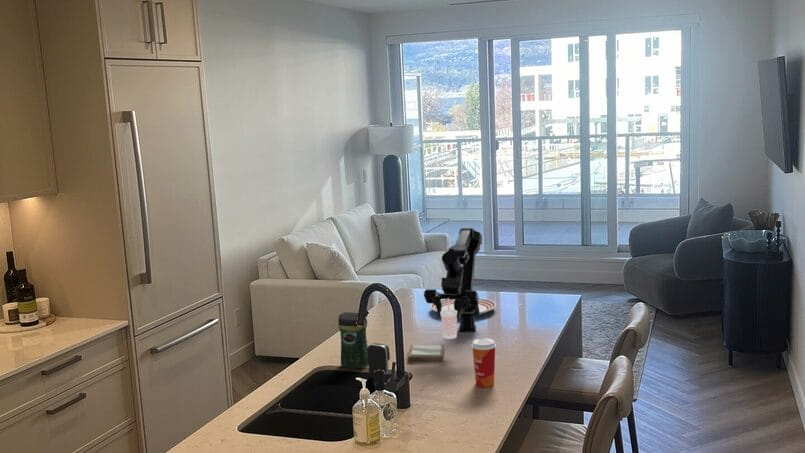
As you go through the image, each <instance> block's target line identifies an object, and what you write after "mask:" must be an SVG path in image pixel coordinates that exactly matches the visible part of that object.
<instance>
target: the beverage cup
mask: <svg viewBox="0 0 805 453" xmlns="http://www.w3.org/2000/svg"><path fill="white" fill-rule="evenodd" d="M457 312H458V311H456V310H450V309H449V298H448V310H443V311H441V312H440V315H441V317H440V319H441V326H442V334H443V339H447V340H451V339H456V338H457V337H458V336H457V335H458V334H457V333H458V330H457V329H458V328H457V327H458V319H457Z"/></svg>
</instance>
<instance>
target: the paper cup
mask: <svg viewBox="0 0 805 453" xmlns="http://www.w3.org/2000/svg"><path fill="white" fill-rule="evenodd" d="M496 347H497V344H496V341H495V340H494V339H491V338H486V337H485V338H480V339H479V338H477V339H474V340H473V341H472V344H471V348H472V355H473V356H472V357H473V369H474V377H475V378H474V379H475V380H474V381H475V385H476V387H478V388H486V389H487V388H492V387H494V385H495V365H496V364H495V360H496Z"/></svg>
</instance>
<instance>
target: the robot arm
mask: <svg viewBox="0 0 805 453" xmlns="http://www.w3.org/2000/svg"><path fill="white" fill-rule="evenodd" d="M482 244H483V236H482V233H481V232H479V231H478V230H477V231H476V230H475V229H474V228H473V227H462V228H460V229H459V232H458V237H457V240H456V242H455V244H454V245H452V246H450V247H449V248H448V250H447V251H446V252H444V253H443V254H442V255H441V261H442V264H443V266H444V269H445V271H446V276H445V277H441V283H440V284H441V285H440V287H441V291H442V293H440V292H438V291H437V289H434V288H431V289H430V288H429V289H428V288H426V289H425V290H424V291H423V297H424V300H425V301H426V304H432V303H433V304H434V305H436V307H437V312H436V313H437V317H438V319H441V315H440V312H441V309H442V303H441V301H440V300H443V299H448V298H449V299H456V300H454V310H456V311H458V312H457V320H459V326H458V332H462V333H463V332H477V325H476V323H475V322H476V321H475V320H476V319H475V317H477V315H478V316H480V315H479V314H480V313H479V306H478V303H479V298H480V297H479V294H478V292H477V291H476V290H473V288H474V277H475V276H474V275H475V264H476V255H478V253H479V252H480V250H481V245H482ZM474 310H475V311H474Z"/></svg>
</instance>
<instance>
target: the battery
mask: <svg viewBox="0 0 805 453" xmlns="http://www.w3.org/2000/svg"><path fill="white" fill-rule="evenodd" d="M367 346H368V348H367V357H368V365H367V366H368V378H370V379H373V378H372V375H373V373H374V371H375V370H378V369H380V370H384V371H385V373H389V360H391V359H390V358H391V356H390V348H389V346H388V344H384V343H379V342H378V343H377V342H376V343H375V342H374V343H371V344H369V345H367Z"/></svg>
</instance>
